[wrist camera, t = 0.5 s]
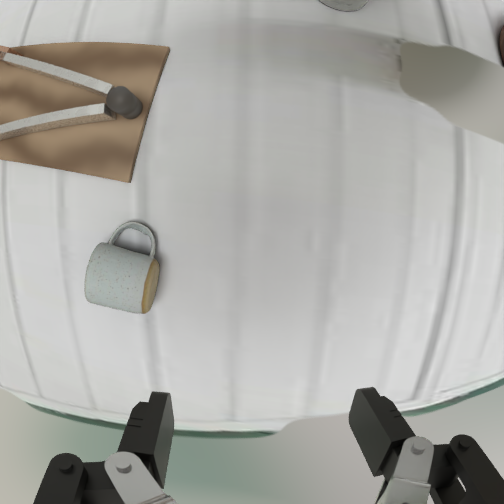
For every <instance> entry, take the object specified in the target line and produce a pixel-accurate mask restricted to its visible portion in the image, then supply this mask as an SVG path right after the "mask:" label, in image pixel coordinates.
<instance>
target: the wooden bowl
mask: <svg viewBox="0 0 504 504" xmlns="http://www.w3.org/2000/svg"><path fill="white" fill-rule="evenodd" d="M500 51H501V56H502V60H503V63H504V26H503V28H502V30H501V34H500Z"/></svg>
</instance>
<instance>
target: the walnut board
mask: <svg viewBox="0 0 504 504" xmlns="http://www.w3.org/2000/svg"><path fill="white" fill-rule="evenodd" d="M11 49H13V50H15V51H17V52H18V53H20V54H22V55H23V57H27V58H30V59H34V60H38V61H41V62H45V63H48V64H52V65H55V66H58V67H62V68H65V69H68V70H71V71H74V72H77V73H80V74H83V75H86V76H89V77H92V78H95V79H98V80H101V81H104V82H107V83H109V84H112V85H114V86H115V88H113V89H112V90H111V91H110V92H109V93H108V95H107V97H104V96H102V95H99V94H96V93H94V92H91V91H88V90H85V89H83V88H80V87H77V86H74V85H71V84H69V83H66V82H63V81H60V80H57V79H54V78H51V77H48V76H45V75H42V74H39V73H35V72H32V71H29V70H26V69H22V68H19V67H15V66H12V65H8V64H6V63H4V62H1V61H0V125H2V124H6V123H9V122H13V121H16V120H20V119H24V118H28V117H32V116H36V115H41V114H45V113H50V112H55V111H60V110H65V109H70V108H76V107H82V106H88V105H94V104H101V103H105V104H107V106H108V107H109V108H110V109H111V110H113V111H115V112H116V120H109V121H100V122H92V123H85V124H78V125H72V126H66V127H60V128H54V129H49V130H43V131H38V132H34V133H29V134H24V135H20V136H16V137H11V138H7V139H3V140H0V159H1V160H8V161H14V162H20V163H26V164H32V165H38V166H44V167H50V168H55V169H61V170H66V171H72V172H77V173H82V174H87V175H93V176H98V177H103V178H108V179H113V180H118V181H123V182H127V183H131V179H132V174H133V170H134V166H135V162H136V158H137V154H138V150H139V146H140V142H141V138H142V135H143V131H144V127H145V124H146V120H147V117H148V114H149V110H150V107H151V104H152V101H153V97H154V94H155V91H156V88H157V85H158V82H159V79H160V76H161V74H162V71H163V68H164V65H165V62H166V60H167V57H168V54H169V52H170V48H169V47H165V46H156V45H145V44H132V43H111V42H71V43H51V44H39V45H29V46H20V47H12V48H11Z"/></svg>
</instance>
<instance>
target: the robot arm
mask: <svg viewBox="0 0 504 504" xmlns="http://www.w3.org/2000/svg"><path fill="white" fill-rule="evenodd" d="M319 1H321V2H322V3H324V4H325V5H327V6H329V7H332V8H334V9H338V10H342V11H355V10H358V9H360V8H362V7H363V6H364V5H365V4H366V3H367V1H368V0H319ZM349 424H350V427H351V429H352V431H353V434H354V436H355V438H356V440H357V442H358V444H359V446H360V448H361V450H362V453H363V455H364V457H365V459H366V461H367V463H368V465H369V468H370V470H371V472H372V474H373V476H374V477H375V476H380V475H384V477H385V479H384V481H383V483H382V485H381V488H380V490H379V493H378V495H377V497H376V500H375V502H374V504H427V500H428V496H429V493H430V495H431V497H432V499H433V501H434V503H435V504H504V480H503V478H502V477H501V476H500V474H499V473H498V471H497V470H496V468H495V467H494V466H493V464H492V463H491V461H490V460H489V459H488V457H487V456H486V454H485V453H484V452H483V450H482V449H481V448H480V446H479V445H478V444H477V442H476V441H475V440H474V439H473V438H472V437H470V436H467V435H457V436H455V437H453V438H452V440H451V441H450V443H449V444H443V445H442V444H441V445H433V444H432V443H431V442H430V441H429V440H428V439H426V438H424V437H419V436H416V435H415V434H414V433H413V431H412V429H411V428H410V427H409V425H408V424H407V422H406V421H405V419H404V418H403V416H401V413H400V412H399V411H398V410H397V408H396V406H395V405H394V403H393V402H392V401H391V400H389V399H388V398H386V397H385V396H381V397H380V395H379V394H378V392H377V391H376V389H375V388H374V387H369V388H362V389H357V390H356V392H355V396H354V399H353V403H352V406H351V410H350V413H349ZM173 432H174V416H173V409H172V402H171V395H170V393H164V392H152V393H151V396H150V399H149V402H139V403H138V404H137V405H136V406H135V407H134V408H133V409H132V412H131V414H130V417H129V420H128V422H127V426H126V428H125V431H124V434H123V436H122V439H121V442H120V445H119V448H118V451H117V452H116V453H114V454H112V455H110V456H109V457H108V458H107V459H106V461H102V462H86V463H83V462H82V461H81V459H80V458H79V457H77V456H76V455H74V454H70V453H62V454H59V455H56V456H55V457H54V458H52V460H51V461H50V463H49V466H48V468H47V470H46V473H45V475H44V478H43V480H42V483H41V485H40V488H39V490H38V493H37V495H36V498H35V500H34V503H33V504H177V503H176V501H175V500H174V499H173V498H172V497H171V496H167V495H166V494H165V493H164V492H163V490H162V489H164V483H165V478H166V472H167V465H168V460H169V454H170V449H171V443H172V437H173ZM458 477H459V478H460V480H461V481H462V483H463V485H464V486H465V489H466V492H465V490H464V489H463V487H462V485H461V484H460V482H459V480H458Z"/></svg>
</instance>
